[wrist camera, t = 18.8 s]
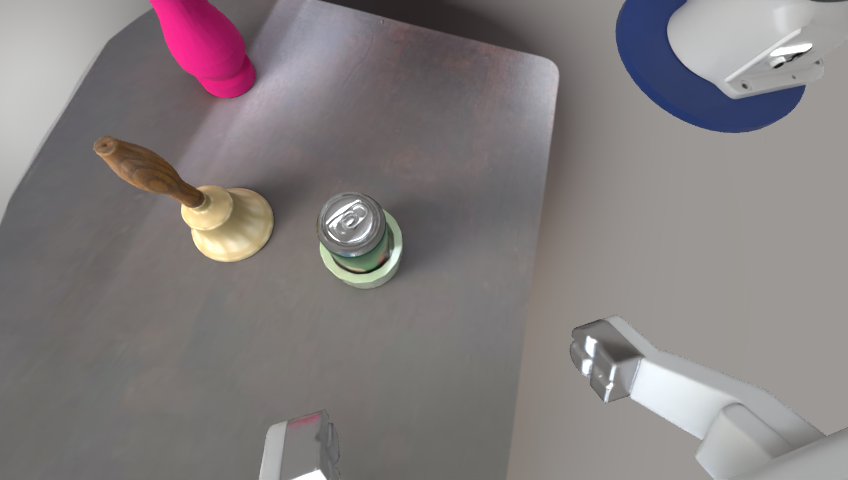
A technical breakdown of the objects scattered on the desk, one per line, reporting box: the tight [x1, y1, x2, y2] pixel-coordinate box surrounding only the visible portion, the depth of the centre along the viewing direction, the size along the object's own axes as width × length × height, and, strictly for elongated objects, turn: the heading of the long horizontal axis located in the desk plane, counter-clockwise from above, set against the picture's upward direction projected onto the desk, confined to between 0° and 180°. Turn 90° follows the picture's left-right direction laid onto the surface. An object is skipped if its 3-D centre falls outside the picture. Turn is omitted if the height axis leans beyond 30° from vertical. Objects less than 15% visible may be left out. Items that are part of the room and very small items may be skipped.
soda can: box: [317, 192, 390, 274], centre depth 28 cm, size 5×5×12 cm
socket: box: [320, 209, 402, 289], centre depth 32 cm, size 8×8×5 cm
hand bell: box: [94, 136, 274, 262], centre depth 27 cm, size 8×8×16 cm
